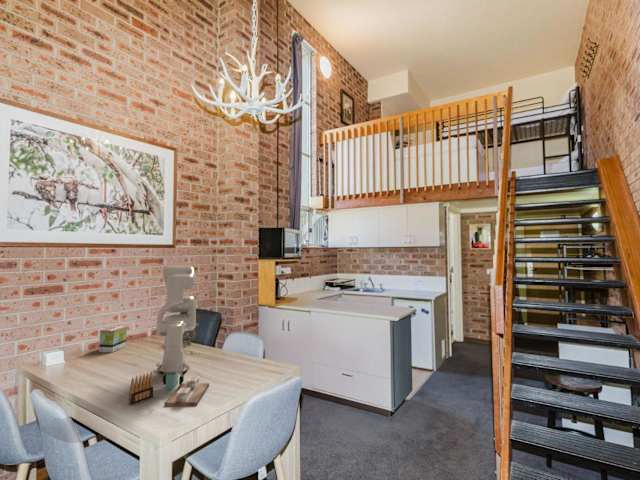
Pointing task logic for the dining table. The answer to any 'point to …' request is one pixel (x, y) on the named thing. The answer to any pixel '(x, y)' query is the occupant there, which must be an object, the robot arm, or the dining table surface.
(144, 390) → the ammunition clip
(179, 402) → the rail board
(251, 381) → the dining table surface
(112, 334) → the tea box
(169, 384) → the teal module
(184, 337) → the tankard
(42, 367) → the dining table surface
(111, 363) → the dining table surface
